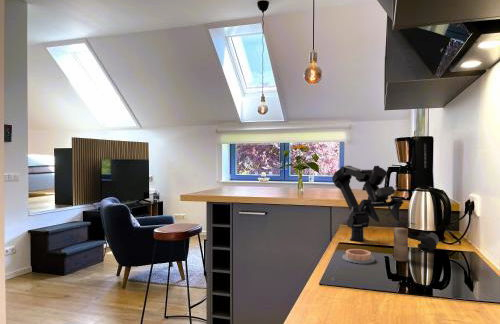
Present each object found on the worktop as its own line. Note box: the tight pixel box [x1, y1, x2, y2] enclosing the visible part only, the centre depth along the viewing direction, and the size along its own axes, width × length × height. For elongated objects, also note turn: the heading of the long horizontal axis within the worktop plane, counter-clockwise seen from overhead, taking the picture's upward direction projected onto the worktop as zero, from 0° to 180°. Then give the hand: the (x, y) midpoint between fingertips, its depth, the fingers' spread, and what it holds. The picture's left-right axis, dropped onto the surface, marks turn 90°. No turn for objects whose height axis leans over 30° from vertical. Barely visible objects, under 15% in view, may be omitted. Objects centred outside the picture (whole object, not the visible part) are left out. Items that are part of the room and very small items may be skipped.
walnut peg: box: [393, 227, 409, 262], centre depth 137 cm, size 5×5×12 cm
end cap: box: [417, 232, 440, 253], centre depth 151 cm, size 10×7×7 cm
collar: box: [342, 248, 375, 265], centre depth 137 cm, size 12×12×3 cm
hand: (388, 221), depth 144 cm, fingers open, 9 cm apart
